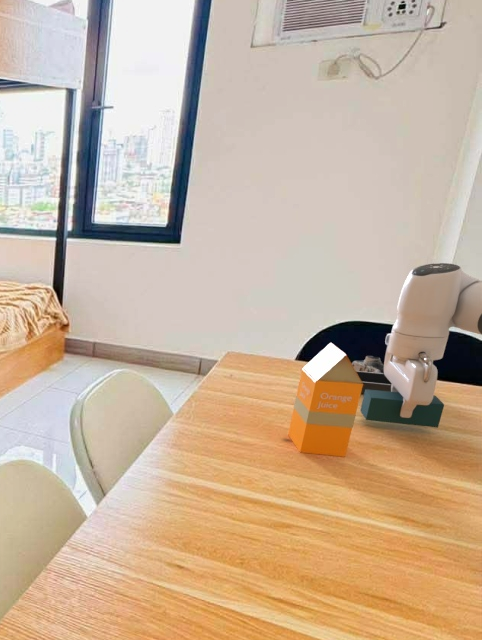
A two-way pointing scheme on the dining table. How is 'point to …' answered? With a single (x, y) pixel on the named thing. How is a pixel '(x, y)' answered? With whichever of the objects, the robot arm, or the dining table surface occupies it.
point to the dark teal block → (388, 406)
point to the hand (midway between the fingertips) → (399, 410)
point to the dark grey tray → (374, 381)
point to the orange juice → (325, 404)
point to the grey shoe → (369, 365)
